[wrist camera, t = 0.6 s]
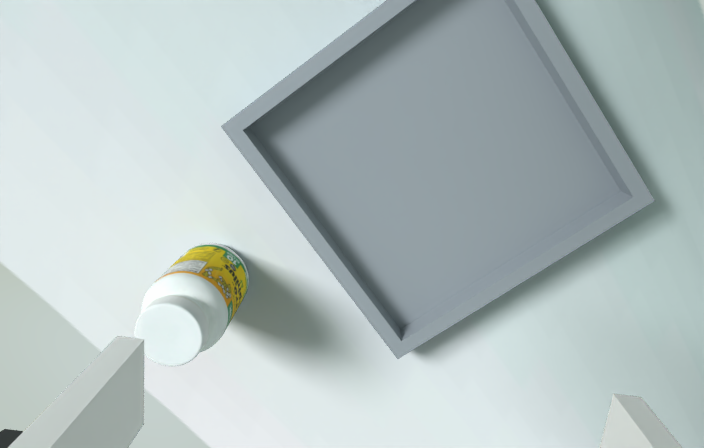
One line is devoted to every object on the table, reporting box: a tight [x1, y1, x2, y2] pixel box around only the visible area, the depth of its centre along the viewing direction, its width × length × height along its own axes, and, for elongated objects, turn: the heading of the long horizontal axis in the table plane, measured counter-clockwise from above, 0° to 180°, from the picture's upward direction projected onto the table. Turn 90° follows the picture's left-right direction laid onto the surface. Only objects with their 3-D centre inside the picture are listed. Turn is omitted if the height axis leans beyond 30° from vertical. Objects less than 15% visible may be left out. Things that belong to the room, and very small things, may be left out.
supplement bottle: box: [135, 243, 249, 366], centre depth 36 cm, size 5×5×10 cm
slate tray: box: [221, 0, 655, 359], centre depth 37 cm, size 20×20×2 cm
